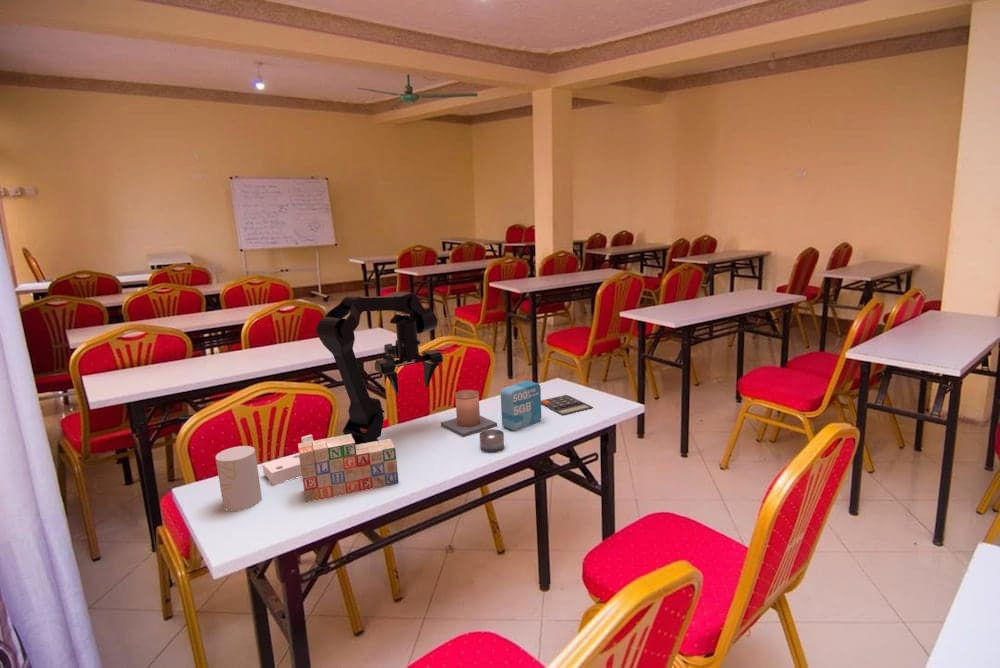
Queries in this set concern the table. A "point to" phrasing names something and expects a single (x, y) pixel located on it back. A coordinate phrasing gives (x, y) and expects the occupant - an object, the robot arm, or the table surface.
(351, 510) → the table surface
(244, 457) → the beige upright cylinder
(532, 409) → the data package
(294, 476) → the bracket
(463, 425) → the terracotta canister
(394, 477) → the stack of blocks
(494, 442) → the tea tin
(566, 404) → the calculator
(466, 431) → the charcoal mat
